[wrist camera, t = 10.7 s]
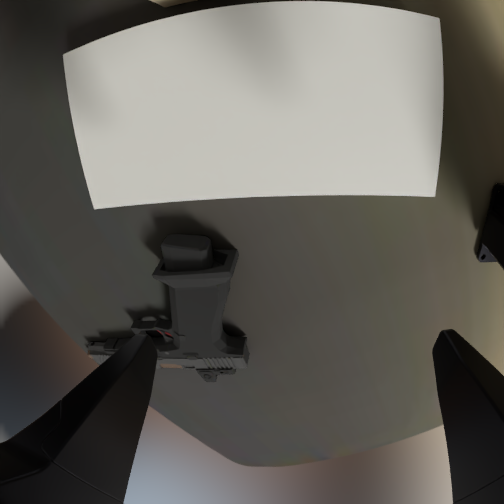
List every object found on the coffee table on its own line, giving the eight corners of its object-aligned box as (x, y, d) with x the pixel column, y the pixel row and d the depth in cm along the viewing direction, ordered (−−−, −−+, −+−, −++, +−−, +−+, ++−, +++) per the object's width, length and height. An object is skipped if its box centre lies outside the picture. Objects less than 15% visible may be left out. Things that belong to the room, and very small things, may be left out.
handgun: (21, 277, 23) (97, 377, 30) (216, 241, 18) (272, 385, 25) (39, 258, 25) (107, 357, 33) (227, 216, 20) (275, 358, 28)
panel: (417, 24, 12) (439, 18, 9) (415, 178, 17) (434, 196, 14) (90, 53, 14) (62, 54, 12) (116, 190, 20) (94, 209, 17)
